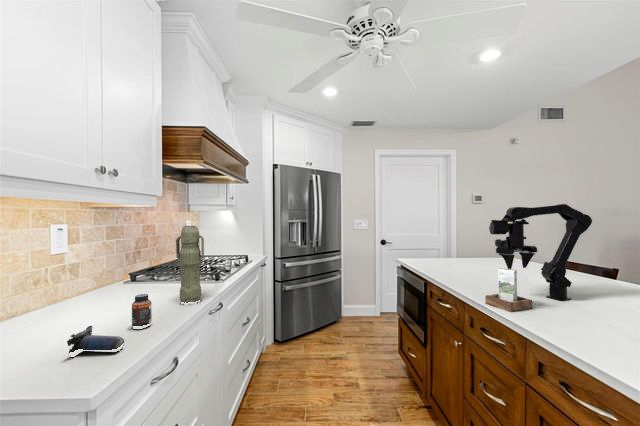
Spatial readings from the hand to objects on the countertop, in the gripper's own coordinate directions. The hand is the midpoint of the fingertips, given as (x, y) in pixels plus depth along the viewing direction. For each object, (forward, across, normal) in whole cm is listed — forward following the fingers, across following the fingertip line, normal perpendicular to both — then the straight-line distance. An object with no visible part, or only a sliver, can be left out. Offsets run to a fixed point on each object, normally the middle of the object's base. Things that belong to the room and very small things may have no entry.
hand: (517, 268), depth 129 cm
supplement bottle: (+13, +155, -20) cm, 157 cm away
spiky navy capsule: (+14, +161, -3) cm, 162 cm away
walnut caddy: (+13, +16, +8) cm, 22 cm away
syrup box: (+13, +16, +8) cm, 22 cm away
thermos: (+13, +142, -47) cm, 150 cm away
